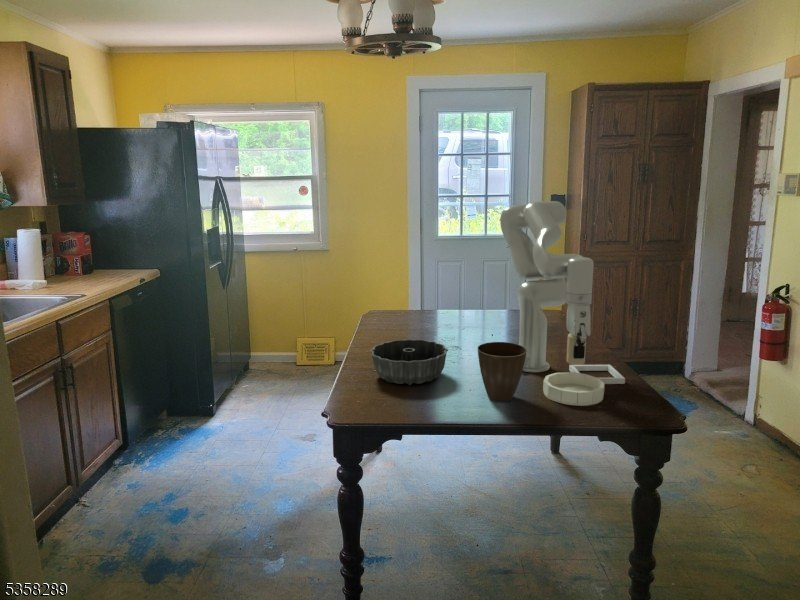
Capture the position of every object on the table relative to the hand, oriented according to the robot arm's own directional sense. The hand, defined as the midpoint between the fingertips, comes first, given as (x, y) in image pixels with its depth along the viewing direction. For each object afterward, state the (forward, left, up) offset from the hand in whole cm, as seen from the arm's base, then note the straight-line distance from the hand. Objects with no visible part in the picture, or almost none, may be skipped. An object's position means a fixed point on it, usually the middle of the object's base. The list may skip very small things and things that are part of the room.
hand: (575, 354), depth 181 cm
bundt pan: (-31, +45, -14) cm, 56 cm away
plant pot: (-20, +12, -13) cm, 27 cm away
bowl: (0, 0, -13) cm, 13 cm away
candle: (0, 0, -3) cm, 3 cm away
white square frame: (+20, +6, -13) cm, 25 cm away
